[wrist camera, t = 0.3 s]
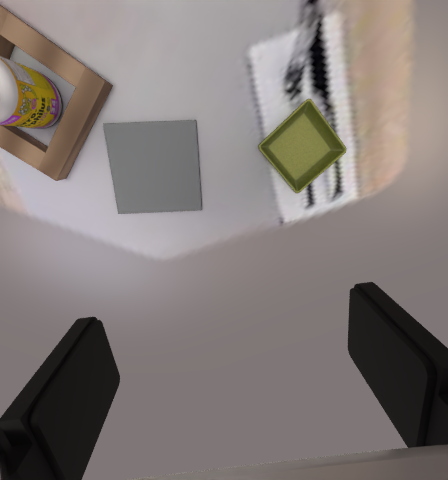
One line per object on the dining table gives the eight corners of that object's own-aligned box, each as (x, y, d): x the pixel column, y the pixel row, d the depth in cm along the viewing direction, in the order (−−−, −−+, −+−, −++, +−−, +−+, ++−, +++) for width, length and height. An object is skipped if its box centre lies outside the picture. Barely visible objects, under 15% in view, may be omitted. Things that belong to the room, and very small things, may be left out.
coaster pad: (104, 123, 36) (102, 123, 35) (196, 120, 36) (195, 120, 35) (119, 212, 40) (118, 213, 39) (201, 209, 40) (201, 210, 40)
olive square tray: (304, 99, 36) (310, 96, 34) (341, 149, 38) (348, 150, 36) (254, 146, 38) (257, 146, 36) (293, 192, 40) (297, 194, 38)
